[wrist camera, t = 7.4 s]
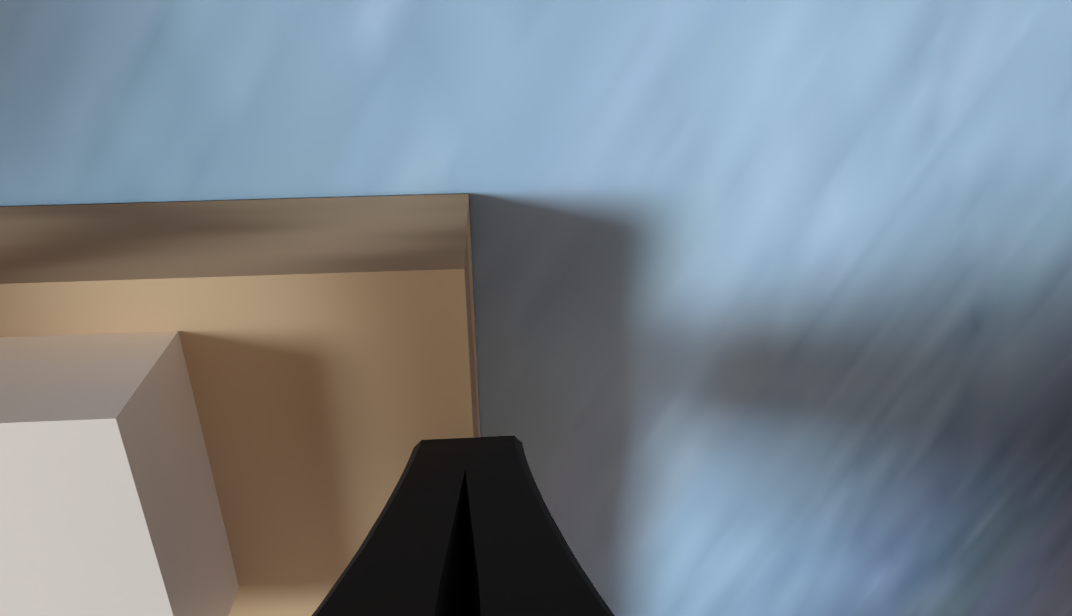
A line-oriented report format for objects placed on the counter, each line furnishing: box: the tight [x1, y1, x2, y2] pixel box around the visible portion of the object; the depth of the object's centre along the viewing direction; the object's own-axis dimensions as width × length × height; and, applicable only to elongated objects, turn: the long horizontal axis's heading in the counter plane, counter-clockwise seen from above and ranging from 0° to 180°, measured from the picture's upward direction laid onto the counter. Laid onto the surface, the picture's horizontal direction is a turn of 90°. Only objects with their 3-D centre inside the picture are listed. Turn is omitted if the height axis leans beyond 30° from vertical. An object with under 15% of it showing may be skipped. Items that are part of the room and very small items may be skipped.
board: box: [0, 194, 481, 616], centre depth 14 cm, size 13×12×3 cm
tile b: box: [0, 331, 239, 616], centre depth 11 cm, size 4×4×2 cm
